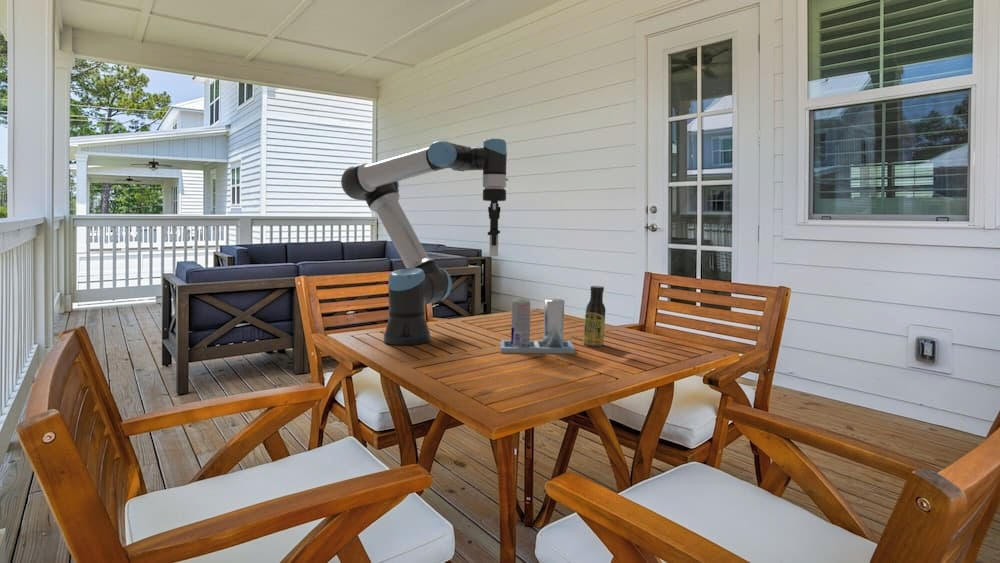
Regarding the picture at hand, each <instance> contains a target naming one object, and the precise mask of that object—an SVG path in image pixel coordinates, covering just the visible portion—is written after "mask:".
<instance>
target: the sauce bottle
mask: <svg viewBox="0 0 1000 563" xmlns="http://www.w3.org/2000/svg"><path fill="white" fill-rule="evenodd" d="M604 291H605V288H604V286H602V285H590V300H589V302H588V303H587V305H586V307H585V308H586V309H585V314H584V317H585V318H584V328H583V346H585V347H589V348H601V347H603V346H604V339H605V327H606V326H605V323H606V322H605V321H606V306H605V304H604V301H603V300H604Z"/></svg>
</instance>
